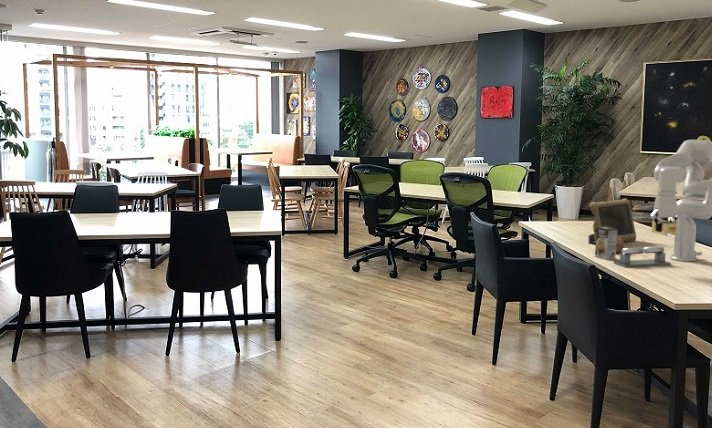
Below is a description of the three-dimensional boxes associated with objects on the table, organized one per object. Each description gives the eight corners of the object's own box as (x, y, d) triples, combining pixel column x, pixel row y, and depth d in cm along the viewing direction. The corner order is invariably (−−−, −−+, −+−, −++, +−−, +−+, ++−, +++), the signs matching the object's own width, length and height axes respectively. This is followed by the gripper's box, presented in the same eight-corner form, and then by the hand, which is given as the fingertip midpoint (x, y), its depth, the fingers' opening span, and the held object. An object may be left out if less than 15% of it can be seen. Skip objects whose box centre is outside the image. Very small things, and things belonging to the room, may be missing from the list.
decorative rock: (602, 248, 371) (603, 231, 370) (623, 250, 367) (624, 232, 366) (601, 253, 359) (602, 235, 358) (623, 254, 355) (624, 236, 354)
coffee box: (594, 256, 350) (596, 226, 347) (604, 255, 352) (606, 226, 349) (605, 260, 341) (607, 229, 339) (616, 259, 343) (617, 228, 341)
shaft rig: (658, 261, 338) (659, 245, 337) (670, 265, 330) (671, 248, 328) (613, 263, 333) (614, 247, 331) (624, 267, 324) (626, 250, 323)
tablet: (606, 247, 375) (608, 203, 372) (584, 243, 386) (587, 201, 383) (637, 241, 394) (640, 199, 391) (616, 237, 405) (619, 197, 402)
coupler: (651, 231, 320) (652, 220, 320) (662, 231, 322) (663, 219, 321) (665, 235, 311) (666, 223, 310) (676, 234, 312) (677, 222, 311)
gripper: (676, 192, 319) (674, 229, 322) (645, 193, 315) (643, 230, 318) (687, 194, 312) (685, 231, 315) (656, 195, 308) (653, 233, 311)
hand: (664, 230), depth 316 cm, fingers closed on coupler, 6 cm apart
